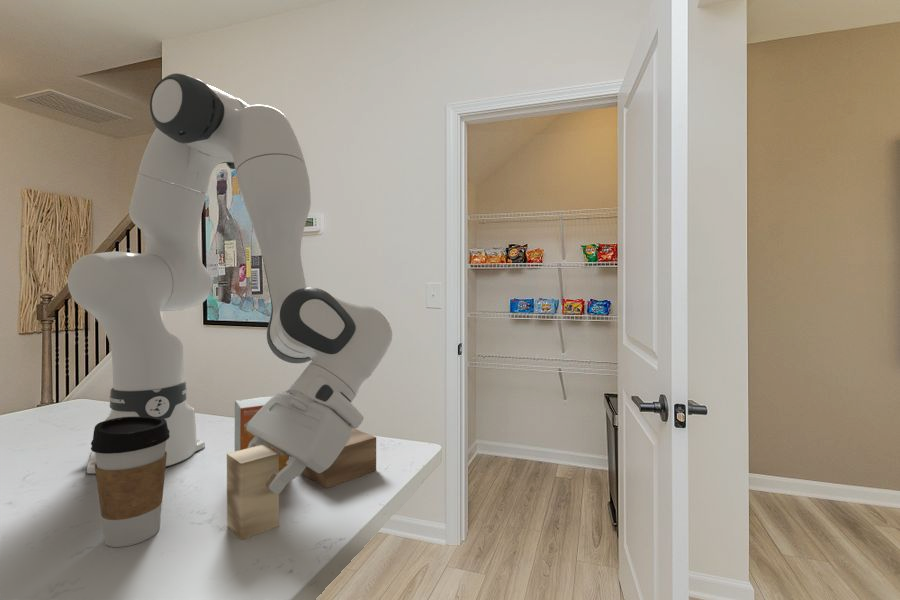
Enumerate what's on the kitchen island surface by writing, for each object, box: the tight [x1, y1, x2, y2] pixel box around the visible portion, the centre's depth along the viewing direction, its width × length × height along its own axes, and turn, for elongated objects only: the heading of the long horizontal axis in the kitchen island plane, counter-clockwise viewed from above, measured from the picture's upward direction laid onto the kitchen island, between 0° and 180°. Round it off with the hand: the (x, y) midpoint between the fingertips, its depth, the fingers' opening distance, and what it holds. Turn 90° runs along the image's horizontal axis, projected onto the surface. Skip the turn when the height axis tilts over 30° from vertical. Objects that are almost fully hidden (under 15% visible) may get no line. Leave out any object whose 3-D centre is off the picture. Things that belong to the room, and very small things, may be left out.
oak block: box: [226, 445, 280, 541], centre depth 61 cm, size 5×5×10 cm
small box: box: [234, 395, 290, 472], centre depth 77 cm, size 8×6×13 cm
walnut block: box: [301, 428, 377, 489], centre depth 79 cm, size 10×10×6 cm
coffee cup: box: [90, 417, 170, 548], centre depth 58 cm, size 8×8×15 cm
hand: (256, 479), depth 61 cm, fingers open, 8 cm apart
